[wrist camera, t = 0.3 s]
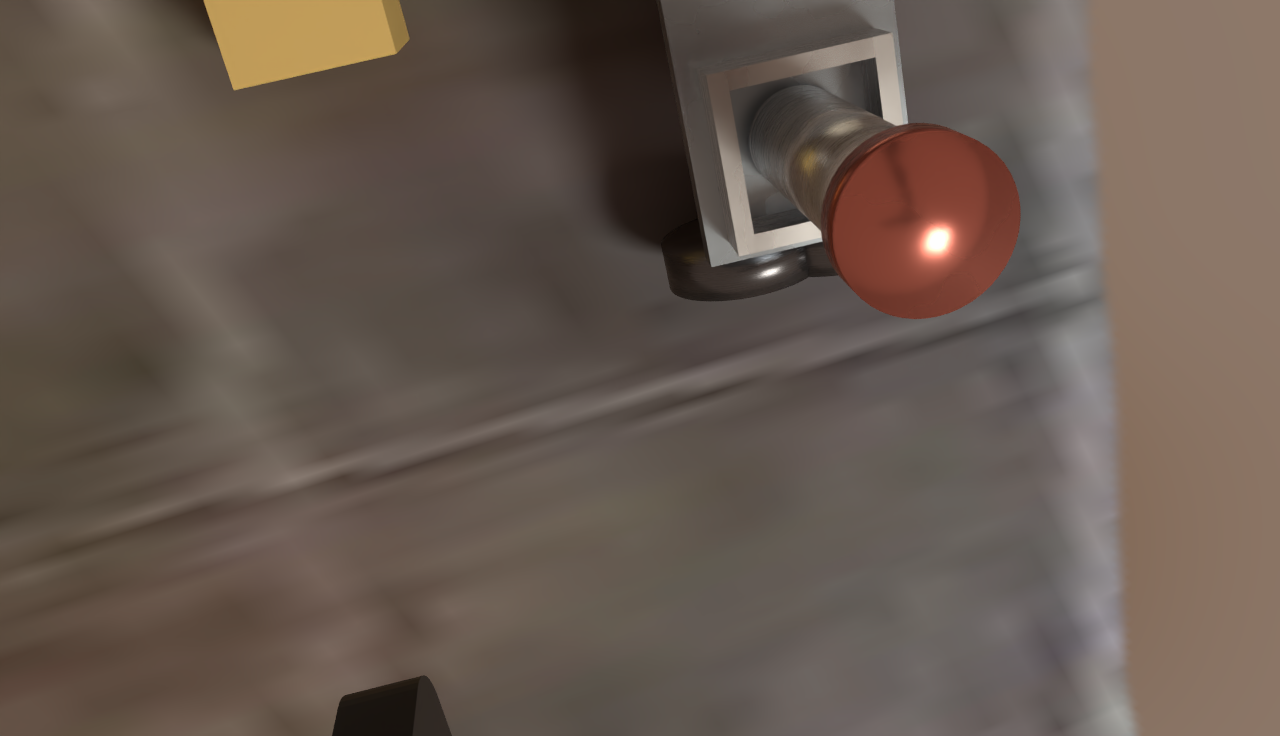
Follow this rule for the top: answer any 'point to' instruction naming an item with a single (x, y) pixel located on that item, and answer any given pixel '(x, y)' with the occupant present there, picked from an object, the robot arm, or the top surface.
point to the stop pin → (890, 199)
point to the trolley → (721, 119)
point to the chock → (302, 35)
